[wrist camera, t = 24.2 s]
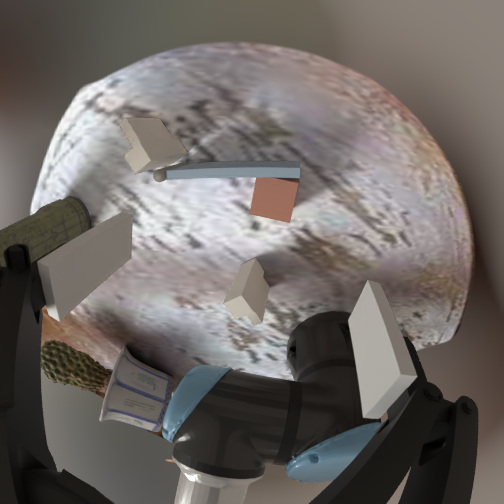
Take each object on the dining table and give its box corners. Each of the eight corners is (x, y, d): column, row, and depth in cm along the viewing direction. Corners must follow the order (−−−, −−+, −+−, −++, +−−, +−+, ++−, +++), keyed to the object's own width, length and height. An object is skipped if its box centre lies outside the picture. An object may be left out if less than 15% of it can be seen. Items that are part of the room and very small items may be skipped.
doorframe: (273, 285, 40) (265, 328, 31) (259, 291, 41) (247, 334, 32) (163, 115, 33) (121, 113, 24) (150, 126, 34) (107, 128, 25)
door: (299, 160, 32) (300, 166, 26) (299, 171, 33) (300, 180, 26) (179, 162, 35) (152, 170, 28) (180, 172, 35) (153, 182, 29)
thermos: (100, 210, 40) (-78, 327, 9) (80, 256, 45) (-54, 369, 13) (70, 179, 39) (-102, 263, 7) (53, 226, 44) (-82, 318, 12)
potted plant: (173, 426, 38) (16, 361, 30) (156, 447, 47) (34, 399, 39) (184, 349, 53) (53, 297, 45) (165, 385, 61) (58, 343, 54)
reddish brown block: (263, 168, 34) (256, 174, 29) (298, 175, 34) (298, 183, 28) (257, 201, 36) (249, 214, 31) (291, 208, 36) (289, 222, 30)
